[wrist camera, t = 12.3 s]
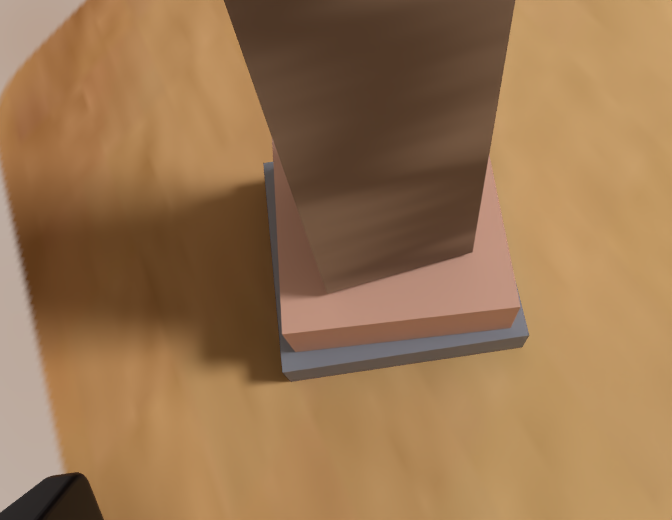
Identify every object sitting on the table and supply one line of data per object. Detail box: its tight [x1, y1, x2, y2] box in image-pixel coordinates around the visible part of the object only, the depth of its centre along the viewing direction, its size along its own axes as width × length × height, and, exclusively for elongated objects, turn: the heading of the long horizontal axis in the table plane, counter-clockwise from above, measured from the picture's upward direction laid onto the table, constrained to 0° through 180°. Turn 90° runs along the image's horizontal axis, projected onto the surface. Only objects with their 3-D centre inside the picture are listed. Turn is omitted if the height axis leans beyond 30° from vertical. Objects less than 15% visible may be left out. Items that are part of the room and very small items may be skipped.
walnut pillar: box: [224, 0, 515, 294], centre depth 15 cm, size 4×4×11 cm
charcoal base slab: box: [263, 162, 529, 382], centre depth 23 cm, size 8×8×2 cm
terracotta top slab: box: [272, 138, 521, 352], centre depth 21 cm, size 7×7×2 cm
